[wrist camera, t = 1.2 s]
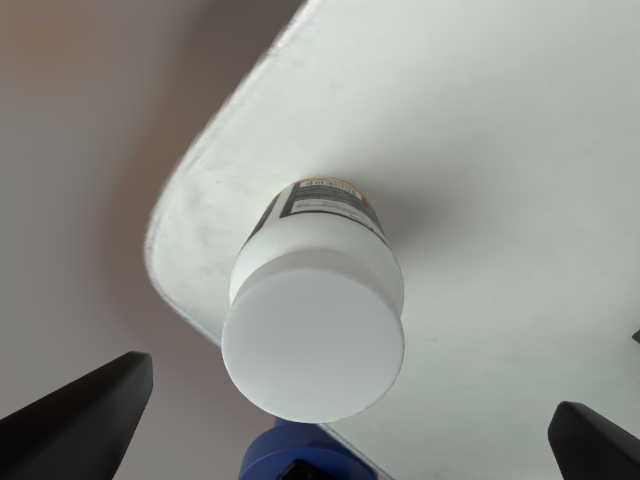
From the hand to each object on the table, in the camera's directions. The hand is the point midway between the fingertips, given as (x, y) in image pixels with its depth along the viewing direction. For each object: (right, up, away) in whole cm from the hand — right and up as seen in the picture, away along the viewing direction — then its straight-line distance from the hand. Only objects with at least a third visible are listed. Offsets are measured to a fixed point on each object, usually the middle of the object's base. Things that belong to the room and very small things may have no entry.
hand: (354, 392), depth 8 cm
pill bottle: (-1, +4, +11) cm, 11 cm away
